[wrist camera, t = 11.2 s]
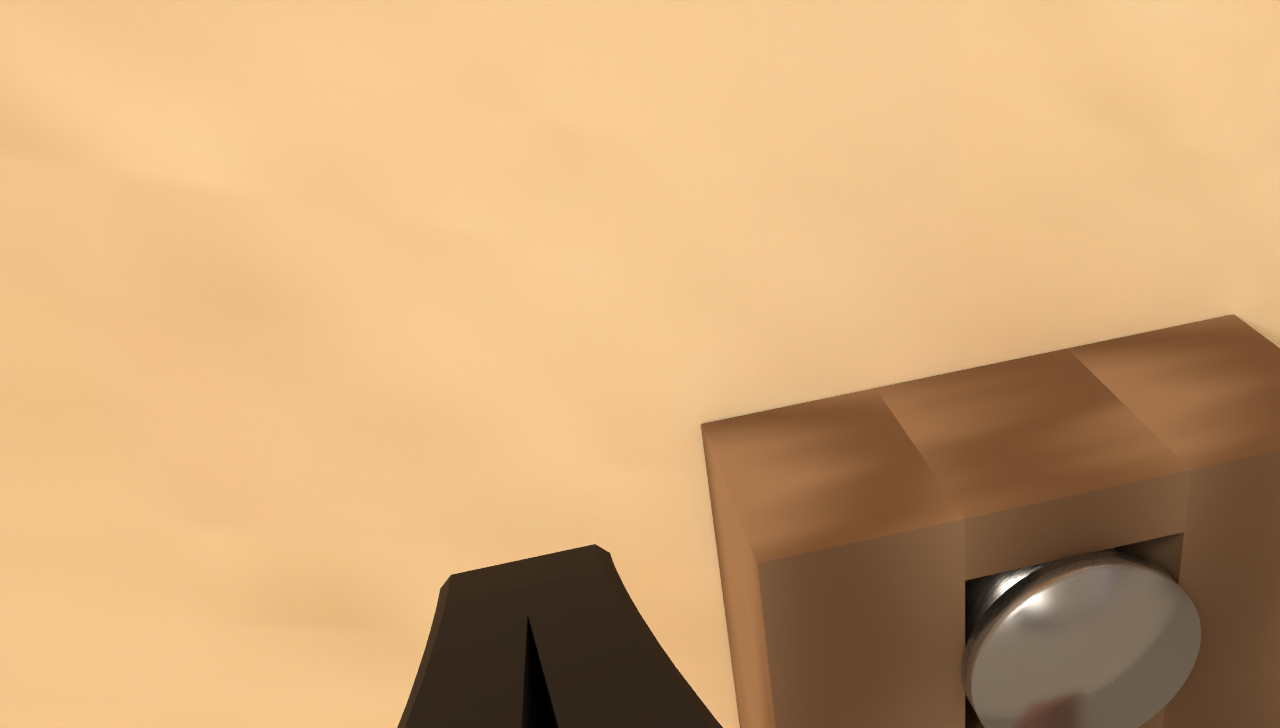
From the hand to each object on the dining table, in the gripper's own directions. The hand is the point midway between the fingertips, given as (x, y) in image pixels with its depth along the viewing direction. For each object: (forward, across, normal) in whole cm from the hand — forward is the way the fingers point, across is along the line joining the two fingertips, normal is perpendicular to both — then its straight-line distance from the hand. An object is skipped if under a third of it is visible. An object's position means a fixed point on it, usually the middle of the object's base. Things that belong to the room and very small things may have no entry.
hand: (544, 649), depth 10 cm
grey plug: (+9, -8, +7) cm, 14 cm away
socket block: (+10, -8, +14) cm, 19 cm away
